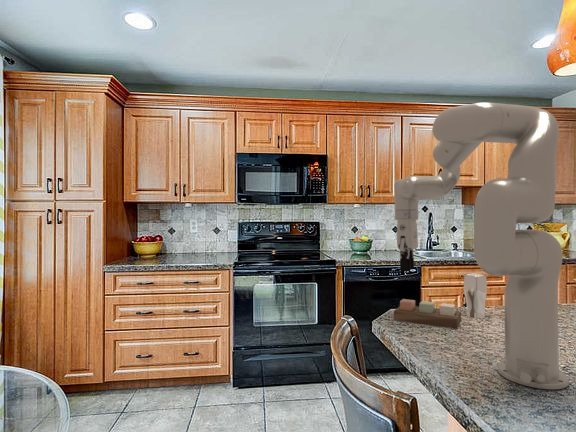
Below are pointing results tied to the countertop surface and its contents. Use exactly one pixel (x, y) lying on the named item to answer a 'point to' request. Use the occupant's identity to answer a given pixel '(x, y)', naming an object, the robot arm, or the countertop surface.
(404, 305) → the key terracotta
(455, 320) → the console
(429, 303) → the key sage
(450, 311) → the key cream
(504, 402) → the countertop surface
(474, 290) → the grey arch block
